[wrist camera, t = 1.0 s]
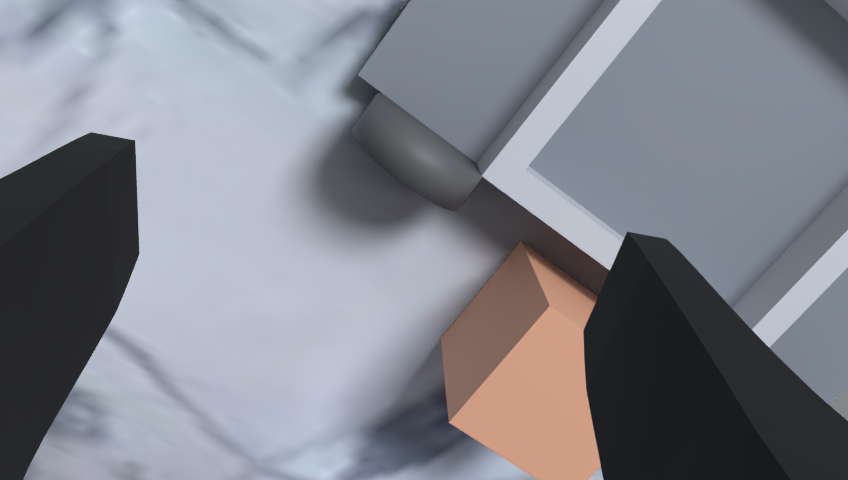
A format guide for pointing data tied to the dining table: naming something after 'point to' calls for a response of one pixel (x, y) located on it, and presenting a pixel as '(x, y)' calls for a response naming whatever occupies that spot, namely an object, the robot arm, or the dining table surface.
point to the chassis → (644, 139)
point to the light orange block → (524, 369)
